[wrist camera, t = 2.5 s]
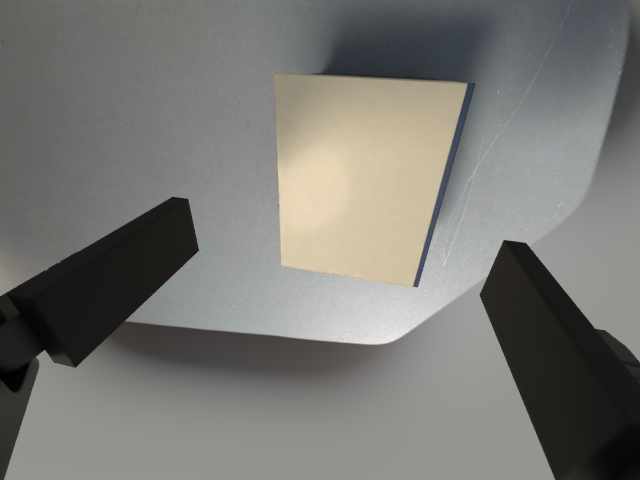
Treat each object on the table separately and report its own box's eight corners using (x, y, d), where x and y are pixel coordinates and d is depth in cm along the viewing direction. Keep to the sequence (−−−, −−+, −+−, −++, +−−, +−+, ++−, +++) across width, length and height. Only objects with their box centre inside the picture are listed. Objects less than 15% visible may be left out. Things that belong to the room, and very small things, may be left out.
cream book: (464, 81, 16) (476, 83, 14) (415, 268, 23) (418, 288, 21) (287, 73, 18) (273, 73, 15) (290, 249, 24) (281, 266, 22)
